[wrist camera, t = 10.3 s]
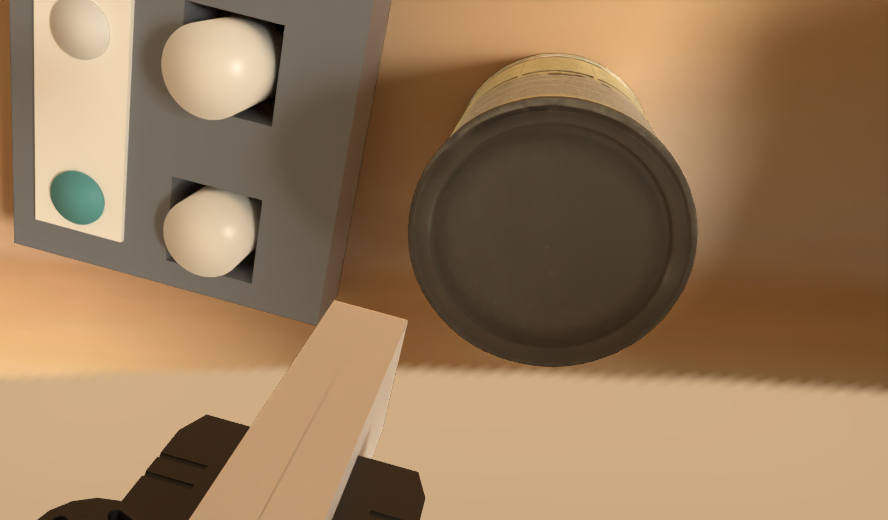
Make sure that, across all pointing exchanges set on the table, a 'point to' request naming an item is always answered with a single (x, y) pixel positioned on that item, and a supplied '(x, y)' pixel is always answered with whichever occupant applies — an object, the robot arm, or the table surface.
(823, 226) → the table surface
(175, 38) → the middle button
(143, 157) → the button board
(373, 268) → the table surface
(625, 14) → the table surface
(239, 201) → the end button
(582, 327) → the coffee can
